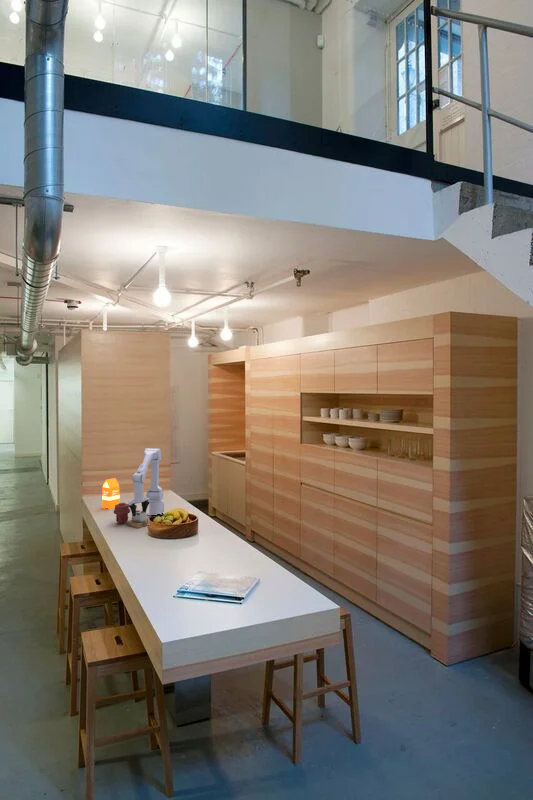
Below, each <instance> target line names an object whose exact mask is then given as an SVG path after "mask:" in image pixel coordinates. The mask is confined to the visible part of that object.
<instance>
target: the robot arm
mask: <svg viewBox="0 0 533 800" xmlns="http://www.w3.org/2000/svg"><path fill="white" fill-rule="evenodd" d="M162 455H163V454H162V450H161V448H148V447H146V448H145V449H144V452H143V456H144V457H143V458H144V459H143V461H142V462H141V464H139V466H138V468H137V470H136V472H135V473H133V474H132V478H131V480H132V485H133V500H130V501H128V502H127V504H128V505H129V509H130V513H131V516H132V515H133V516H136V510H137V507H138V505H137V504H141V507H142V508H141V509H142V510H141V511H144V512H146V516H151V515H156V514H160V513H163V512H164V513H165V502H164V500H163V499H164V492H163V491H164V490H163V488H162V487H161V486H159V482H160V481H159V480H160V477H159V475H160V472H159V471H160V461H162ZM150 464H151V465H150ZM149 465H150V468H151V469H150V471H151V472H150V486H149V487H148V488H147V490H146V494H145V493H144V492H145V491H144V490H145V489H144V487H145V484H144V483H145V481H146V477H147V476H146V475H147V472H148V470H149ZM145 495H146V496H145ZM147 509H148V513H147Z"/></svg>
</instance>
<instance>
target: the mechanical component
mask: <svg viewBox="0 0 533 800" xmlns="http://www.w3.org/2000/svg"><path fill="white" fill-rule="evenodd" d="M130 513H131V509H130V507H129V505H128V503H125V502H120V503H119V504H116V505H115V508H114V509H113V514H114V515H115V521H116V524H117V525H123V524H122V523H126V521H129V514H130Z"/></svg>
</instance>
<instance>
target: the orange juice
mask: <svg viewBox="0 0 533 800" xmlns="http://www.w3.org/2000/svg"><path fill="white" fill-rule="evenodd" d="M101 488H102V489H101V491H102V493H101V497H102V502H101V503H102V504H101V506H102V509H105V508H108V509H107V510H112V509H111V508H113V509H115V505H116V504H119V503H121V501H120V499H121V495H120V494H121V493H120V484H119V483H118V481H117V479H116V477H113V478H107V479H105V481H104V482H103V485H102V487H101Z"/></svg>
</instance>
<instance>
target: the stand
mask: <svg viewBox="0 0 533 800" xmlns="http://www.w3.org/2000/svg"><path fill="white" fill-rule="evenodd" d="M148 519H149V518H146V521H145V522H141V523H140V522H136V521H132V519H130V520H129V519H128V521H126V524H125V526H127V525H128V527H131V526H132V528H134V527H135V528H134V529H142V528H143V527H148V526H147V524H148Z"/></svg>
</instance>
